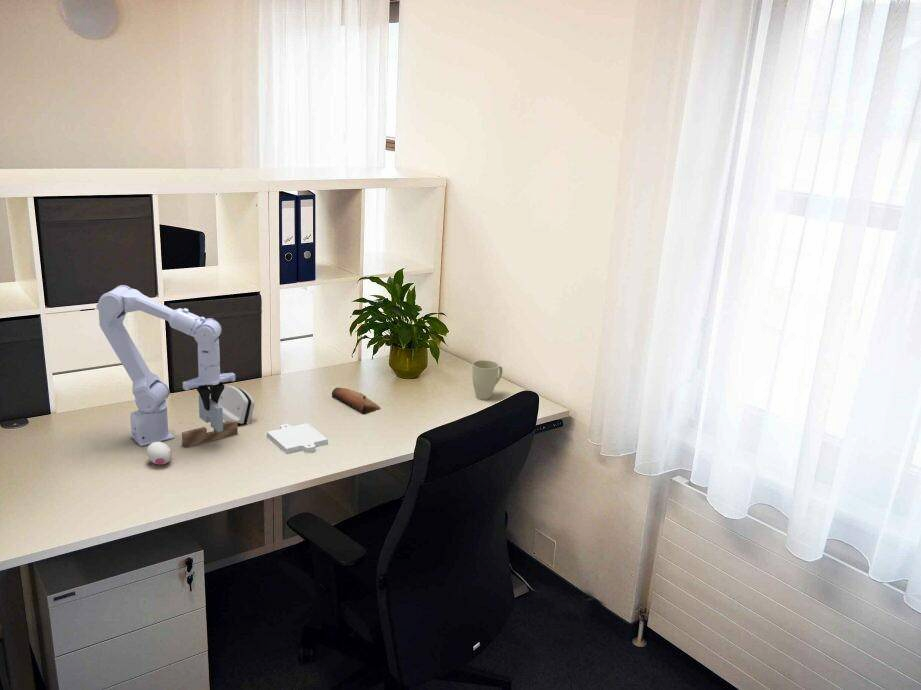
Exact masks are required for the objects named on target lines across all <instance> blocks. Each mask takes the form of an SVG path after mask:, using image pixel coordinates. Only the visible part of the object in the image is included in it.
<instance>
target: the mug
mask: <svg viewBox="0 0 921 690" xmlns="http://www.w3.org/2000/svg"><path fill="white" fill-rule="evenodd" d="M502 375H503V367H502V366H501V365H499V363H498V362H495V361H492V360H486V359H480V360H475V361H473V362H472V384H473V390H474V394H475V397H476V398H477V399H478V400H482V401H483V400H484V401H486V400H490V399H491V397H492V394H493V391H494V390H495V387H496V385H497V384H498V383H499V381H500V380H501V378H502Z"/></svg>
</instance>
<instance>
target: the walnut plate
mask: <svg viewBox="0 0 921 690" xmlns="http://www.w3.org/2000/svg"><path fill="white" fill-rule="evenodd" d="M234 435H238V424H237V421H236V420H231V421H227V422H226V421H224V422H223V431H220V432H217V431H216V430H215V429H214V428H213V430H212V431H208V428H207V427H206V426H203V427H197V428H193V429H190V430H185V431H181V445H182V447H184V448H186V447H191V446H195V445H198V444H203V443H208V442H211V441H214V440H218V439H222V438H223V439H224V438H228V437H230V436H234Z"/></svg>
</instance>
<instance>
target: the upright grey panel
mask: <svg viewBox="0 0 921 690" xmlns="http://www.w3.org/2000/svg"><path fill="white" fill-rule="evenodd" d="M198 411H199V412H198V414H199V416H198V417H199V419H200V420H202V421H203V422H204V423H206V424H207V423H210V428H212V429H213V430H214V429H215V430H216V431H217V432H220V431H223V421H224V420H223V410H222V407H221V406H220V405H218V404H217V403H215V402H214V401H213V400H211V398H210V410H209V411H207V410H206V409H204V405H203V402H202V399H201V396H200V394H198Z"/></svg>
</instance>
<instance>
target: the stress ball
mask: <svg viewBox="0 0 921 690" xmlns="http://www.w3.org/2000/svg"><path fill="white" fill-rule="evenodd" d="M146 456H147V458H148V459H149V461H150V462H149V463H148V465H149V466H151V465H152V463H154V464H156V465H164V464H167V463H169V461H170V460H173V459H174V458H172V450H171V447H170V446H169V445H168V444H166V443H165V442H164V441H160V442H153V443H151V444H148V447H147V448H146Z"/></svg>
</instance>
